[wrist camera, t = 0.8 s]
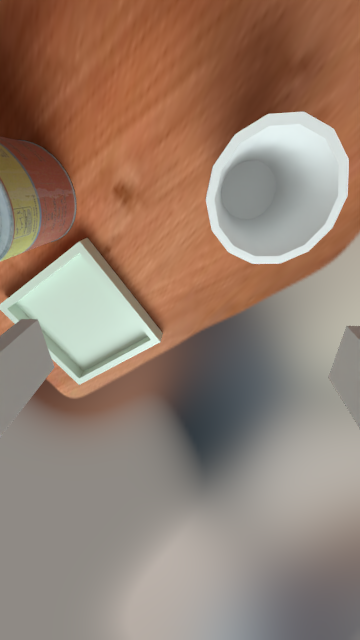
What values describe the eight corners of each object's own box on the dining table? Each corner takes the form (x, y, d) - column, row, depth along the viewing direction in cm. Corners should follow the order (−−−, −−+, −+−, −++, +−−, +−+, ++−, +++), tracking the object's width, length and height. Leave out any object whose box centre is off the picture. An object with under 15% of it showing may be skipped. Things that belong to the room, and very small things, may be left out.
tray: (8, 299, 39) (-3, 306, 37) (87, 237, 33) (79, 241, 31) (85, 375, 45) (79, 384, 43) (162, 333, 39) (160, 341, 37)
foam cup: (205, 234, 32) (205, 264, 20) (206, 144, 27) (206, 117, 16) (284, 232, 31) (330, 263, 19) (298, 139, 26) (369, 107, 15)
